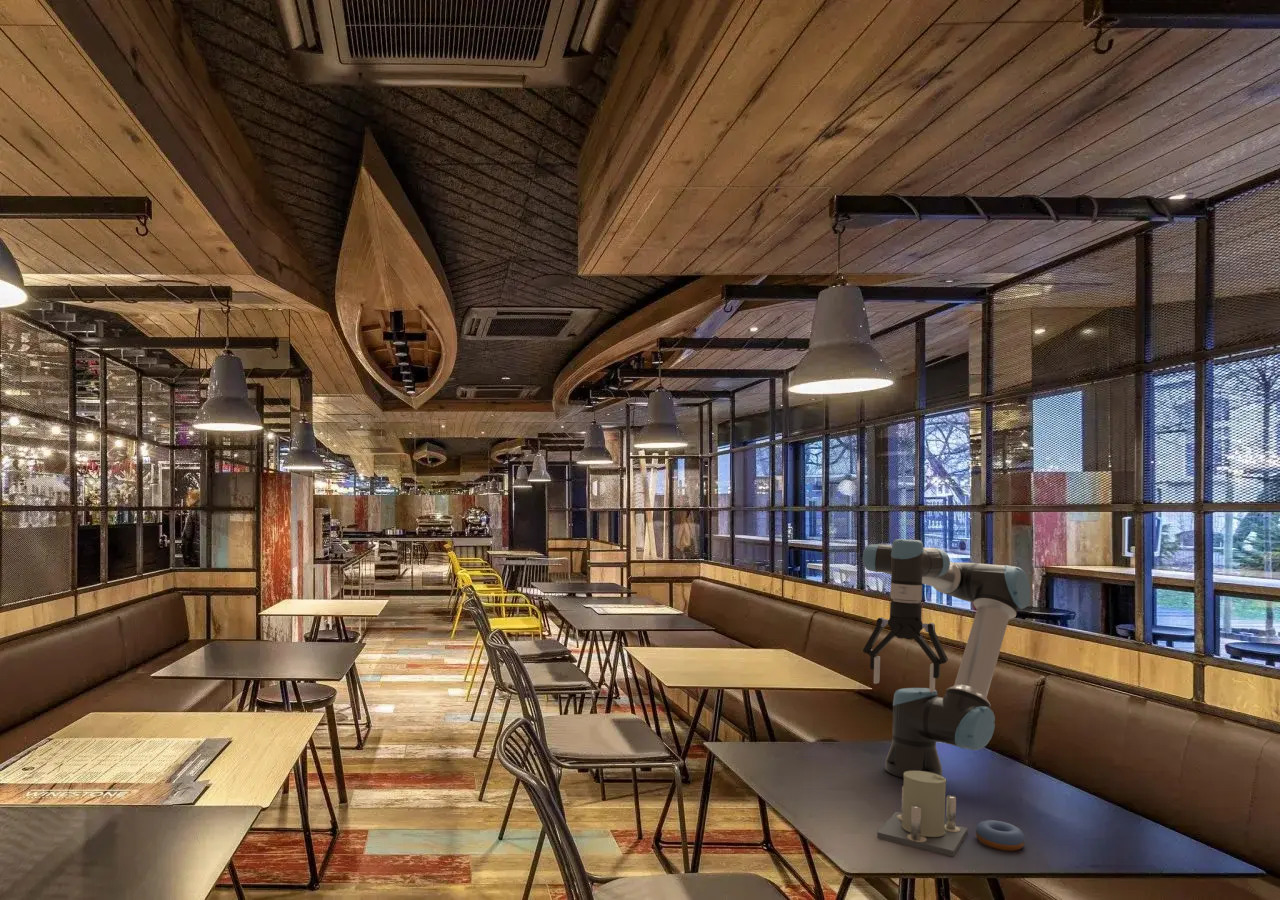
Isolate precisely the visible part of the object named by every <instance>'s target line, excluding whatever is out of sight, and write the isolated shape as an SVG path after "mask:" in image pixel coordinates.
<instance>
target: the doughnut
mask: <svg viewBox="0 0 1280 900" xmlns="http://www.w3.org/2000/svg"><path fill="white" fill-rule="evenodd" d="M975 835H976V838H977V839H978V841H979V842H980V843H981V844H983V845H985V846H986V847H989V848H992V849H994V850H1000V851H1004V852H1005V851H1006V852H1014V851H1019V850H1020V849H1022V848H1023V847H1024V846H1025V838H1026V837H1025V834H1024V832H1023V831H1022V830H1021V828H1019V827H1017V826H1015V825H1014V824H1012V823H1008V822H1005V821H1001V820H994V819H988V820H982V821H981V822H979V823H977V824H976V828H975Z"/></svg>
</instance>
